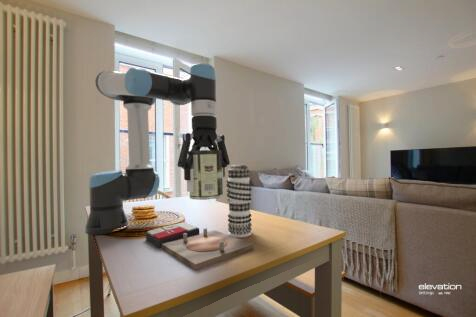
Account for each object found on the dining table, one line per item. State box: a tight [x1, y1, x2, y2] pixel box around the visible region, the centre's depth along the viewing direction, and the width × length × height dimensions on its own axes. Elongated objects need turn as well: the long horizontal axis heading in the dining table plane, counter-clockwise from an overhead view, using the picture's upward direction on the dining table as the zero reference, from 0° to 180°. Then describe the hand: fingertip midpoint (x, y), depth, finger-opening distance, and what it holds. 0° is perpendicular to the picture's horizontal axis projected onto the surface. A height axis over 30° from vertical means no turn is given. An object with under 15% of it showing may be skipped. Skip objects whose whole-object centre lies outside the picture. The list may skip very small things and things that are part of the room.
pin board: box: [161, 227, 254, 271], centre depth 74 cm, size 20×20×4 cm
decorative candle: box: [225, 164, 253, 238], centre depth 88 cm, size 9×9×25 cm
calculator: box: [145, 221, 200, 249], centre depth 84 cm, size 11×4×15 cm
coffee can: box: [188, 149, 224, 201], centre depth 74 cm, size 10×10×14 cm
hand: (205, 189), depth 74 cm, fingers closed on coffee can, 10 cm apart
